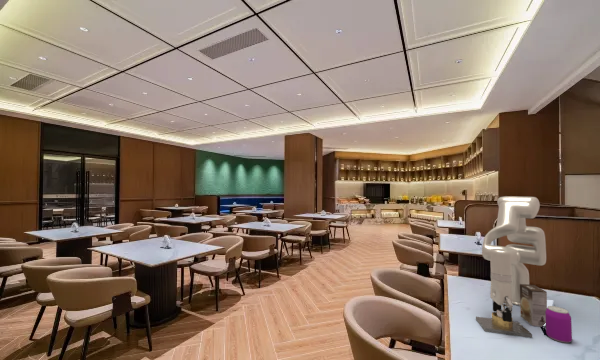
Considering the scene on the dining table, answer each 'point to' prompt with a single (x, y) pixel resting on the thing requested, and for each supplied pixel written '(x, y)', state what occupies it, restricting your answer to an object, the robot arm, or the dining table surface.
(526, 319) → the coffee box
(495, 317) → the brass ring
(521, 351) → the dining table surface
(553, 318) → the beverage can
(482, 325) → the stand
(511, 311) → the robot arm
